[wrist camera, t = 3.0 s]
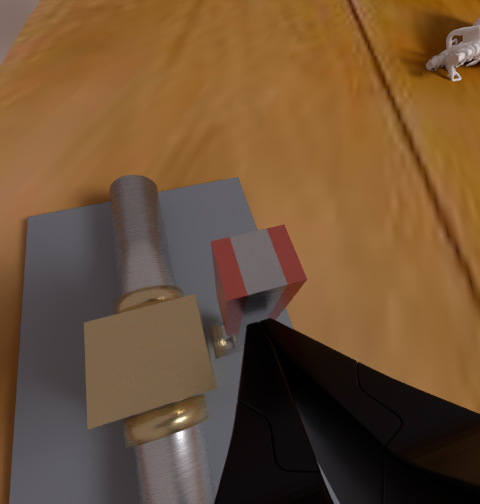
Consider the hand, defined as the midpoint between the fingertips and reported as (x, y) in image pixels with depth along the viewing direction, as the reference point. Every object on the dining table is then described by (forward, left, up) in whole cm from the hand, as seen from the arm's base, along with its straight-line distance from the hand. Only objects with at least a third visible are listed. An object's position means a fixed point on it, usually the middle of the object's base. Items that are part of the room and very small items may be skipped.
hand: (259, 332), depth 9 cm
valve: (+3, +4, -11) cm, 12 cm away
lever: (+1, 0, -9) cm, 9 cm away
